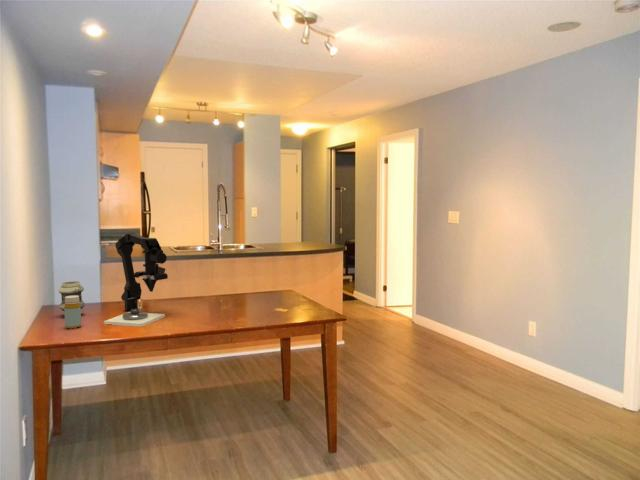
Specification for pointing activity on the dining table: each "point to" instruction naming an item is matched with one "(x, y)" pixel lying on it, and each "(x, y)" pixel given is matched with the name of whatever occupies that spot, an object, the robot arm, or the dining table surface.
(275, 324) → the dining table surface
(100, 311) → the dining table surface
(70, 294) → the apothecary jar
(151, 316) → the white square plate
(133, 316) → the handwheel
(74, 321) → the bottle
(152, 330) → the dining table surface
